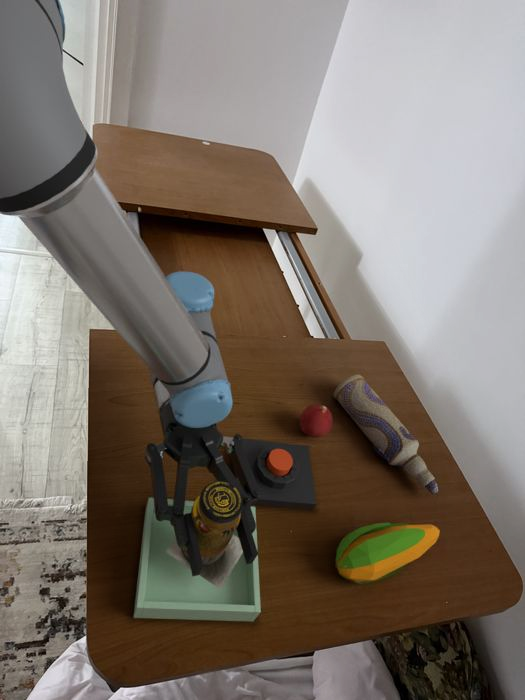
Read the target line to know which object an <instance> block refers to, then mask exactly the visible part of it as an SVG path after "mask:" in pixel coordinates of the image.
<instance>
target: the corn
mask: <svg viewBox="0 0 525 700" xmlns="http://www.w3.org/2000/svg"><path fill="white" fill-rule="evenodd" d="M440 532H441V530H440V529H439V528H438V527H437V526H435V525H433V524H431V523H430V524H429V523H427V524H409V523H407V522H399V523H398V522H397V523H391V522H390V521H389V522H380V523H377V522H376V523H372V524H369V525H364V526H360V527H358V528H357V529H354V530H353V531H350V532H349V533H347V534H346V535H345V536H344V537H343V538H342V539H341V541H340V543H339V545H338V547H337V548H336V555H335V568H336V569H337V572H338V574H339V575H340V576H341V577H342V578H344V579H346V580H347V581H349V582H351V583H355V584H360V585H363V584H372V583H374V582H378V581H380V580H383V579H386V578H389V577H391V576H393V575H395V574H397V573H399V572H400V571H402V570H404V569H406V568H407V567H408V566H409V565H410V563H412V562H413V561H415V560H417V559H419V558H421V557H422V555H423V554H425V553H426V552H427V551H428V550H429V549H430V548H432V546H433V545H435V544H436V543H437V541H438V539H439V536H440Z"/></svg>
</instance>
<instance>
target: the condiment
mask: <svg viewBox="0 0 525 700" xmlns="http://www.w3.org/2000/svg"><path fill="white" fill-rule="evenodd" d="M194 501H195V502H194V504H193V506H192V510H191V512H190V513H191V515H192V519H193V524H194V528H195V532H196V536H197V541H198V545H199V549H200V553H201V558H202V562H203V568H202V570H201V572H200V574H199V575H200V576H201V577H203V578H204V579H205V580H207V581H208V582H210V583H212V584H213V585H215V586H216V587H217V588H219V589H220V590H221V588H222V587H223V585H224V583H225V581H226V580H227V578H228V576H229V575H230V573H231V571H232V570H233V568H234V566H235V565H236V563H237V561H238V560H239V558H240V556H241V555H242V553H243V550H242V547H241V543H240V540H239V538H238V537H237V536H235V535H233V534H234V532H235V530H236V528H237V526H238V524H239V521H240V517H241V512H242V508H243V497H242V495H241V494H240V492H239V490H238V489H237V488H236V487H235V486H233V485H232V484H230V483H228V482H223V481H217V480H215V481H213V482H210V483H208V484H207V485H205V486H204V488H203V489H202V490H201V492H200V494H199V495H198V496H196V498H195V500H194ZM166 552H167V553H168V554H170V555H171V556H172V557H174V558H175V559H176V560H178V561H180V562H181V563H182V564H183V565H185V566H186V567H188V568H189V569H191V567H190V562H189V558H188V553H187V549H186V546H185V547H179V546H178V544H177V541H176V539H175V540H174V541H173V543H172V544H171V545H170V547H169V548H168V549H167V551H166Z"/></svg>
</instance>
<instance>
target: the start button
mask: <svg viewBox="0 0 525 700" xmlns="http://www.w3.org/2000/svg"><path fill="white" fill-rule="evenodd" d="M292 464H293V459H292V457H291V455H290V454H289V453H288V452H287V451H285V450H283V449H274V450H272V451H271V452H270V454H269V456H268V458H267V460H266V466H267V469H268V470H269V471H270V472H271V473H272V474H274V475H276V476H284V475H286V474H287V473H288V472H289V470H290V468H291V467H292Z"/></svg>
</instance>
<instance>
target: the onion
mask: <svg viewBox="0 0 525 700" xmlns="http://www.w3.org/2000/svg"><path fill="white" fill-rule="evenodd" d="M299 416H300V417H299V425H300V429H301V431H302V432H303V433H304V434H306V436H308V437H310V438H322V437H325V436H326V435H328V434H329V432H330V431H331V429H332V427H333V421H334V419H333V415H332V412H331V411H330V409H329V408H328V407H327V406H325V405H324V404H320V403H316V404H311V405H309V406H307V407H305V408H304V409H303V410H302V412H301V413H300V415H299Z"/></svg>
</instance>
